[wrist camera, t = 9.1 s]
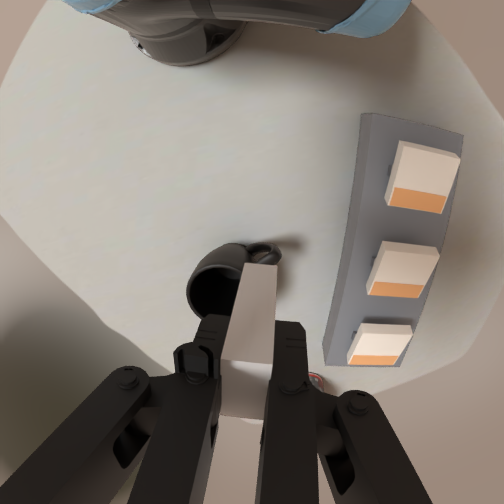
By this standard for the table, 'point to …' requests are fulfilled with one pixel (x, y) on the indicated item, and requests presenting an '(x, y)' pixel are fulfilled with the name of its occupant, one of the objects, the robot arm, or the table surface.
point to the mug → (224, 277)
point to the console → (382, 234)
